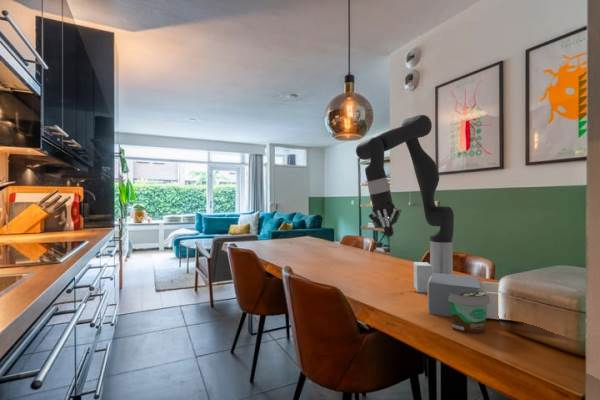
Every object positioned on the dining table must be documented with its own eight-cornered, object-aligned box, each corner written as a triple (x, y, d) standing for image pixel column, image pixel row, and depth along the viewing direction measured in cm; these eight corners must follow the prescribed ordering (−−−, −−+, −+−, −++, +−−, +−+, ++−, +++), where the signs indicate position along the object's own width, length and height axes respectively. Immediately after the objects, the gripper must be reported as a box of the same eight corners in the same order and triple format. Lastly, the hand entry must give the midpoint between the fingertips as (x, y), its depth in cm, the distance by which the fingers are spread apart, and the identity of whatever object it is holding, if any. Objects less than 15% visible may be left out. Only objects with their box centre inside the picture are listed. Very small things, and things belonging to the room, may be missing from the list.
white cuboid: (427, 309, 97) (427, 284, 97) (431, 297, 109) (430, 275, 109) (523, 322, 85) (522, 294, 86) (514, 307, 98) (514, 283, 98)
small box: (432, 293, 118) (432, 265, 118) (417, 292, 119) (416, 265, 119) (428, 287, 126) (427, 262, 126) (413, 287, 127) (413, 261, 127)
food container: (469, 339, 77) (468, 299, 77) (448, 330, 83) (448, 293, 83) (501, 331, 82) (500, 293, 82) (479, 323, 88) (479, 288, 88)
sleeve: (429, 313, 96) (428, 282, 96) (432, 299, 110) (432, 272, 110) (481, 321, 89) (480, 288, 89) (477, 305, 103) (477, 276, 104)
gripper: (400, 186, 114) (410, 232, 114) (368, 193, 122) (378, 235, 123) (391, 189, 108) (403, 237, 108) (359, 196, 117) (369, 240, 117)
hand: (389, 236), depth 116 cm, fingers closed
